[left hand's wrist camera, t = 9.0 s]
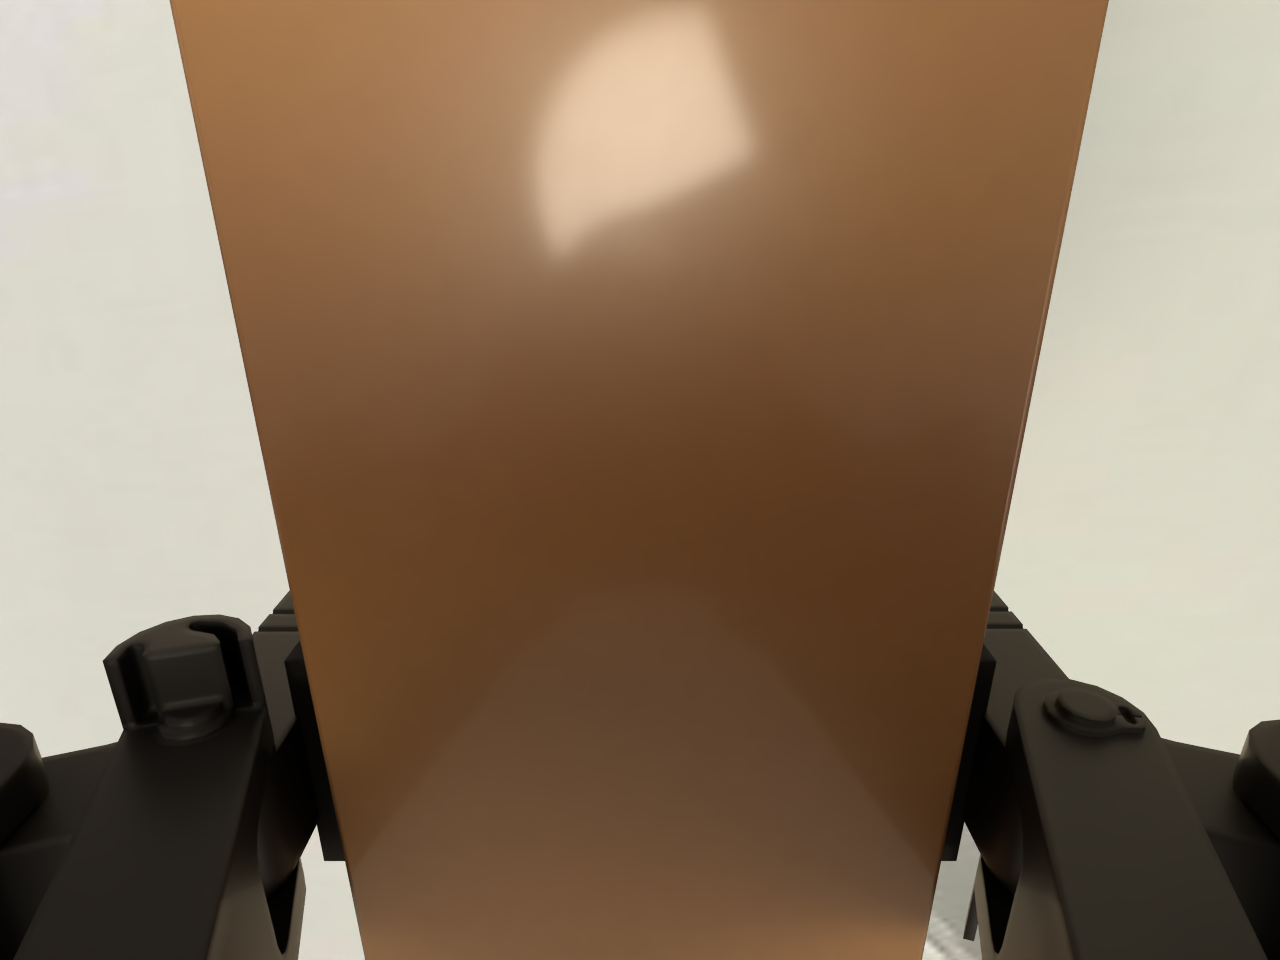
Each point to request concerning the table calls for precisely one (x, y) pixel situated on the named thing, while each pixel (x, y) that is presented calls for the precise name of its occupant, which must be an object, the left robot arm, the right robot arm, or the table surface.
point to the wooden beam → (641, 439)
